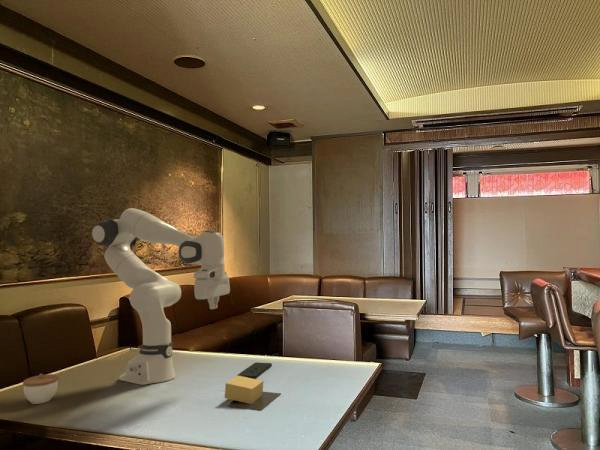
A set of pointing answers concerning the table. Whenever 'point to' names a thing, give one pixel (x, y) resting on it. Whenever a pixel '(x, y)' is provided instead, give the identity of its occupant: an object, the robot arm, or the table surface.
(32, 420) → the table surface
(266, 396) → the topple stop
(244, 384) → the mustard block
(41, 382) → the lidded jar
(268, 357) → the table surface
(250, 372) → the smart home device
